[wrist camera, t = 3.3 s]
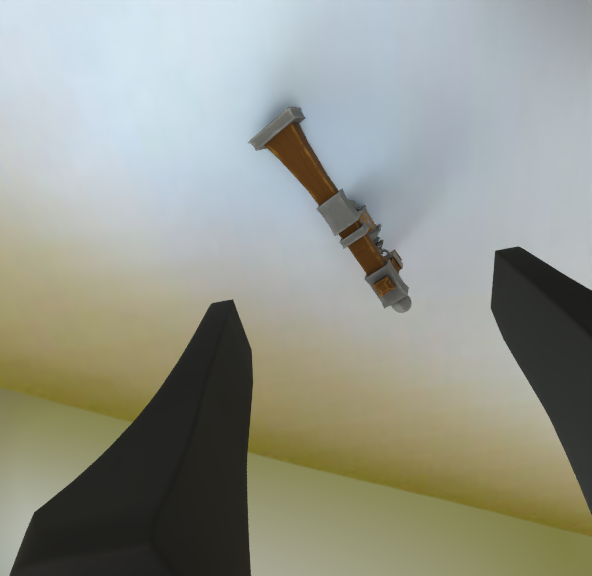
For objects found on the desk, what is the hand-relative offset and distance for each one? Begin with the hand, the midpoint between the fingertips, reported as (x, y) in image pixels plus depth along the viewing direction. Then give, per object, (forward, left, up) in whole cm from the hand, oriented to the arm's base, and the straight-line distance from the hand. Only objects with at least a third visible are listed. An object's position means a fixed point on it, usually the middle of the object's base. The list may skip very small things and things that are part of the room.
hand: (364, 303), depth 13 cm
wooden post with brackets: (0, 0, -7) cm, 7 cm away
